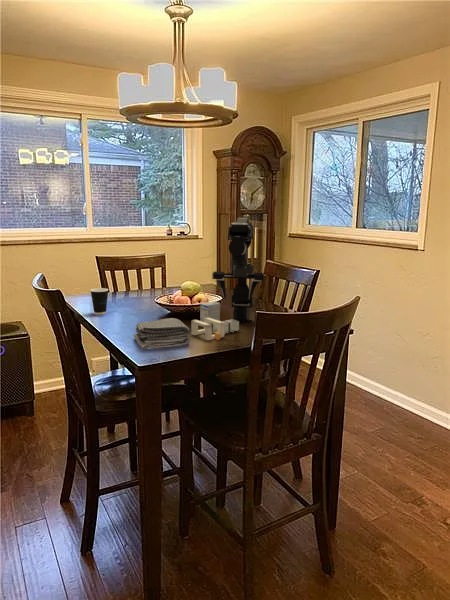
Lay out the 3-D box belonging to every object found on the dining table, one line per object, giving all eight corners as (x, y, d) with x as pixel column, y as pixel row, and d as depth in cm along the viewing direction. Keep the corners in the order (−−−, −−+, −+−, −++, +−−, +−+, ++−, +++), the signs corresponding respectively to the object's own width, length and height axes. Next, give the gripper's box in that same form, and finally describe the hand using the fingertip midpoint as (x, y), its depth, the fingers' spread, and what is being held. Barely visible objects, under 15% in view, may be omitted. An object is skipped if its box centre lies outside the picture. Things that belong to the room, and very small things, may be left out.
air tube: (232, 328, 184) (232, 319, 183) (238, 331, 181) (239, 321, 180) (212, 332, 177) (212, 322, 177) (219, 335, 174) (219, 325, 174)
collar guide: (208, 331, 180) (208, 317, 179) (227, 337, 171) (227, 323, 170) (191, 334, 175) (191, 320, 174) (210, 341, 166) (210, 326, 165)
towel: (191, 346, 161) (191, 324, 160) (139, 351, 155) (139, 328, 153) (180, 334, 175) (180, 315, 174) (132, 338, 169) (132, 318, 167)
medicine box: (212, 321, 196) (212, 301, 194) (220, 322, 193) (220, 302, 191) (199, 324, 190) (200, 304, 188) (207, 326, 187) (208, 305, 185)
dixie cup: (105, 315, 202) (104, 291, 200) (88, 315, 203) (87, 290, 201) (111, 311, 210) (110, 288, 208) (95, 311, 211) (93, 287, 209)
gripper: (215, 255, 158) (213, 300, 159) (268, 257, 160) (266, 301, 161) (212, 256, 169) (211, 298, 170) (262, 258, 171) (260, 299, 172)
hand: (237, 299), depth 168 cm, fingers open, 9 cm apart
